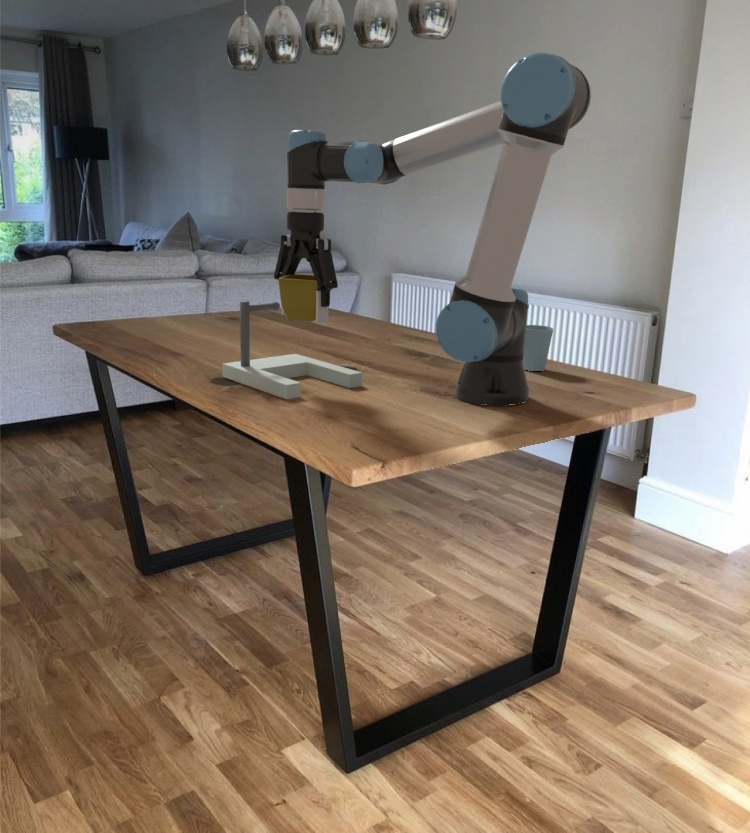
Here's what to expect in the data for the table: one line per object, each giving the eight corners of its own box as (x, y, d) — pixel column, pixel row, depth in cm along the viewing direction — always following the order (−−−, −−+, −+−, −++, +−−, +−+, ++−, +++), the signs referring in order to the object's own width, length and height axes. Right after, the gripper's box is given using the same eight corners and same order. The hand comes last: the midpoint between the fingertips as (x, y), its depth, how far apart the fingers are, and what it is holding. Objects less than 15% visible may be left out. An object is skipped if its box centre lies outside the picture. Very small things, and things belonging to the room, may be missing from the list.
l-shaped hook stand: (361, 386, 174) (364, 307, 169) (286, 399, 161) (287, 315, 156) (295, 366, 191) (296, 294, 186) (222, 376, 178) (221, 300, 173)
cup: (537, 374, 191) (541, 331, 188) (511, 369, 196) (514, 326, 193) (555, 370, 196) (559, 328, 193) (529, 365, 201) (532, 324, 198)
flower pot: (318, 324, 164) (319, 280, 161) (277, 321, 165) (277, 277, 163) (329, 318, 172) (330, 275, 170) (290, 315, 174) (290, 273, 171)
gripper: (357, 214, 157) (354, 325, 163) (286, 208, 173) (285, 309, 179) (327, 213, 152) (325, 328, 158) (257, 208, 169) (257, 311, 175)
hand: (304, 318), depth 169 cm, fingers closed on flower pot, 11 cm apart
